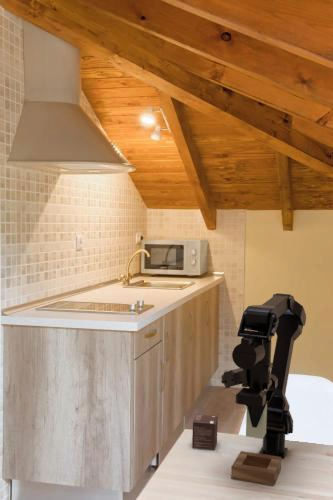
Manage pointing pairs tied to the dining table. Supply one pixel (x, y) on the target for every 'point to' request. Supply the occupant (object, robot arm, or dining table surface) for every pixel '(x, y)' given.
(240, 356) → the robot arm
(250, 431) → the peg
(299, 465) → the dining table surface
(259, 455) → the socket block
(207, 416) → the box
